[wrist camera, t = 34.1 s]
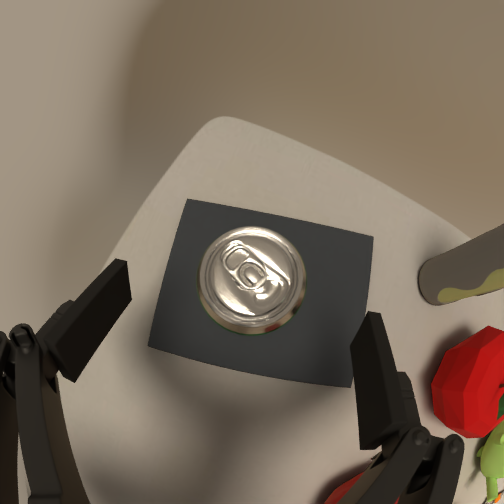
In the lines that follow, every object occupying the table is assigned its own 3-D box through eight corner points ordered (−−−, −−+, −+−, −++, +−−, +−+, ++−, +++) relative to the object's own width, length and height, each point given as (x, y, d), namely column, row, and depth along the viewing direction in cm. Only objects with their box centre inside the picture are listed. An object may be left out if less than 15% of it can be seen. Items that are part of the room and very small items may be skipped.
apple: (462, 311, 23) (529, 297, 13) (493, 375, 21) (552, 377, 11) (400, 383, 21) (467, 401, 12) (439, 443, 19) (495, 469, 9)
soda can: (250, 344, 22) (247, 362, 10) (209, 299, 23) (167, 270, 12) (295, 303, 23) (336, 277, 11) (253, 260, 24) (254, 195, 12)
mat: (149, 345, 23) (147, 346, 22) (188, 201, 26) (187, 198, 26) (348, 386, 21) (350, 387, 21) (371, 238, 25) (373, 236, 25)
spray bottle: (420, 253, 25) (572, 154, 5) (452, 267, 24) (597, 192, 5) (413, 299, 23) (593, 235, 4) (447, 310, 23) (611, 264, 4)
